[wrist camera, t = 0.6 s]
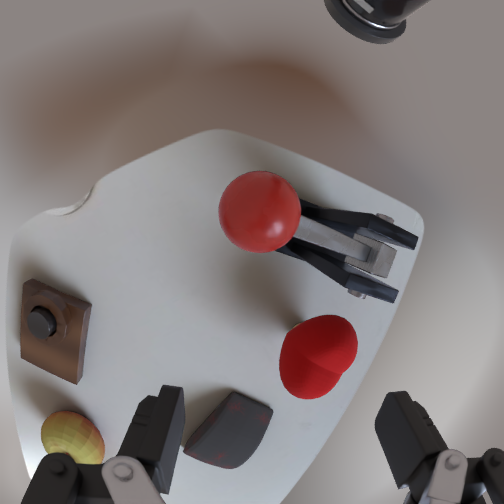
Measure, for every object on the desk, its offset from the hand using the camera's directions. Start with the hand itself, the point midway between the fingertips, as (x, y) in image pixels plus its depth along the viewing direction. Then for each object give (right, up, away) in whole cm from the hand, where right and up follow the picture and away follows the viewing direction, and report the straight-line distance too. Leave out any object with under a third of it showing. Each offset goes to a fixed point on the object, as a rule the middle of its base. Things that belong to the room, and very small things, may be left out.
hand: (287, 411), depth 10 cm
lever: (+2, +7, +8) cm, 11 cm away
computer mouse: (-5, -19, +26) cm, 33 cm away
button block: (-26, -4, +21) cm, 33 cm away
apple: (-27, -20, +23) cm, 41 cm away
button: (-24, -2, +17) cm, 30 cm away
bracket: (+5, +8, +23) cm, 25 cm away
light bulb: (+4, -3, +25) cm, 25 cm away
